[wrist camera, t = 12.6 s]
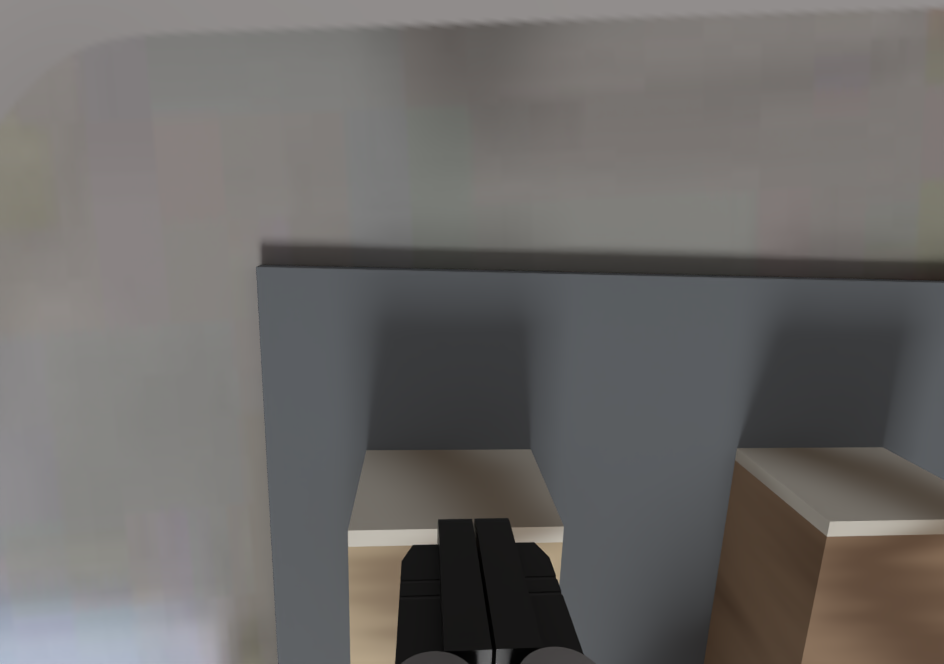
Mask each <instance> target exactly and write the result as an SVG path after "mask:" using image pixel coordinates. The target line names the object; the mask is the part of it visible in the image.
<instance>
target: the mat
mask: <svg viewBox="0 0 944 664" xmlns="http://www.w3.org/2000/svg"><path fill="white" fill-rule="evenodd" d="M256 275H257V293H258V311H259V329H260V347H261V365H262V383H263V401H264V419H265V437H266V455H267V473H268V491H269V509H270V527H271V545H272V562H273V580H274V598H275V616H276V634H277V652H278V664H350V616H349V566H348V527H349V523H350V519H351V515H352V510H353V506H354V502H355V497H356V493H357V489H358V484H359V480H360V476H361V471H362V467H363V463H364V458H365V454H366V450H500V449H531V451H532V453H533V456H534V458H535V460H536V463H537V465H538V467H539V470H540V472H541V474H542V477H543V479H544V481H545V484H546V486H547V488H548V491H549V493H550V495H551V498H552V500H553V502H554V505H555V507H556V509H557V512H558V514H559V516H560V519H561V521H562V523H563V526H564V532H563V545H562V557H561V570H560V582H559V585H560V588H561V593H562V595H563V597H564V600H565V602H566V605H567V608H568V611H569V614H570V617H571V619H572V622H573V625H574V628H575V631H576V634H577V636H578V639H579V642H580V645H581V648H582V651H583V653H584V655H585V656H587V657H588V658H590V659H591V660H592V661H593V662H595V663H596V664H704V659H705V653H706V646H707V640H708V633H709V627H710V620H711V614H712V607H713V601H714V594H715V588H716V581H717V575H718V568H719V562H720V555H721V549H722V542H723V536H724V529H725V523H726V516H727V510H728V503H729V497H730V490H731V484H732V477H733V471H734V464H735V458H736V451H737V448H840V447H883V448H885V449H887V450H889V451H891V452H892V453H894V454H896V455H898V456H900V457H902V458H904V459H906V460H907V461H909V462H911V463H913V464H915V465H917V466H919V467H920V468H922V469H924V470H926V471H928V472H930V473H932V474H933V475H935V476H937V477H939V478H941V479H943V480H944V281H930V280H887V279H844V278H801V277H759V276H716V275H673V274H630V273H587V272H544V271H501V270H458V269H415V268H372V267H329V266H286V265H260V266H257V267H256Z"/></svg>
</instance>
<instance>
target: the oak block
mask: <svg viewBox="0 0 944 664" xmlns="http://www.w3.org/2000/svg"><path fill="white" fill-rule="evenodd" d="M475 518H509V521H510V524H511V528H512V532H513V535H514V539H515V543H516V542H535V543H536V544H537V545H538V546H539V547H540V548H541V549H542V550H543V551H544V552H545V553H546V554H547V555H548V556H549V557H550V560H551V563H552V566H553V568H554V571H555V574H556V579H557V580H558V583H559V582H560V570H561V557H562V545H563V532H564V526H563V523H562V521H561V519H560V516H559V514H558V512H557V509H556V507H555V505H554V502H553V500H552V498H551V495H550V493H549V491H548V488H547V486H546V484H545V481H544V479H543V477H542V474H541V472H540V470H539V467H538V465H537V463H536V460H535V458H534V456H533V453H532V451H531V449H500V450H366V454H365V458H364V463H363V467H362V471H361V476H360V480H359V484H358V489H357V493H356V497H355V502H354V506H353V510H352V515H351V519H350V523H349V527H348V566H349V616H350V664H395V657H396V641H397V625H398V609H399V593H400V577H401V561H402V560H403V558H404V557H405V555H406V554H407V552H408V551H409V550H410V548H411V547H412V545H429V544H437V529H438V519H472V521H473V523H474V519H475Z"/></svg>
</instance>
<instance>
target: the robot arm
mask: <svg viewBox="0 0 944 664" xmlns="http://www.w3.org/2000/svg"><path fill="white" fill-rule="evenodd" d="M395 664H596V663H595V662H593V661H592V660H591V659H590V658H588V657H587V656H585V655H584V653H583V651H582V648H581V645H580V642H579V639H578V636H577V634H576V631H575V628H574V625H573V622H572V619H571V617H570V614H569V611H568V608H567V605H566V602H565V600H564V597H563V595H562V593H561V588H560V585H559V583H558V580H557V579H556V574H555V571H554V568H553V566H552V563H551V560H550V557H549V556H548V555H547V554H546V553H545V552H544V551H543V550H542V549H541V548H540V547H539V546H538V545H537V544H536V543H535V542H516V543H515V539H514V535H513V532H512V528H511V524H510V521H509V518H475V519H474V523H473V521H472V519H438V529H437V544H429V545H412V547H411V548H410V550H409V551H408V552H407V554H406V555H405V557H404V558H403V560H402V561H401V577H400V593H399V609H398V625H397V641H396V657H395Z"/></svg>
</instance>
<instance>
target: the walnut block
mask: <svg viewBox="0 0 944 664" xmlns="http://www.w3.org/2000/svg"><path fill="white" fill-rule="evenodd" d="M704 664H944V480H943V479H941V478H939V477H937V476H935V475H933V474H932V473H930V472H928V471H926V470H924V469H922V468H920V467H919V466H917V465H915V464H913V463H911V462H909V461H907V460H906V459H904V458H902V457H900V456H898V455H896V454H894V453H892V452H891V451H889V450H887V449H885V448H883V447H840V448H737V451H736V458H735V464H734V471H733V477H732V484H731V490H730V497H729V503H728V510H727V516H726V523H725V529H724V536H723V542H722V549H721V555H720V562H719V568H718V575H717V581H716V588H715V594H714V601H713V607H712V614H711V620H710V627H709V633H708V640H707V646H706V653H705V659H704Z"/></svg>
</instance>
